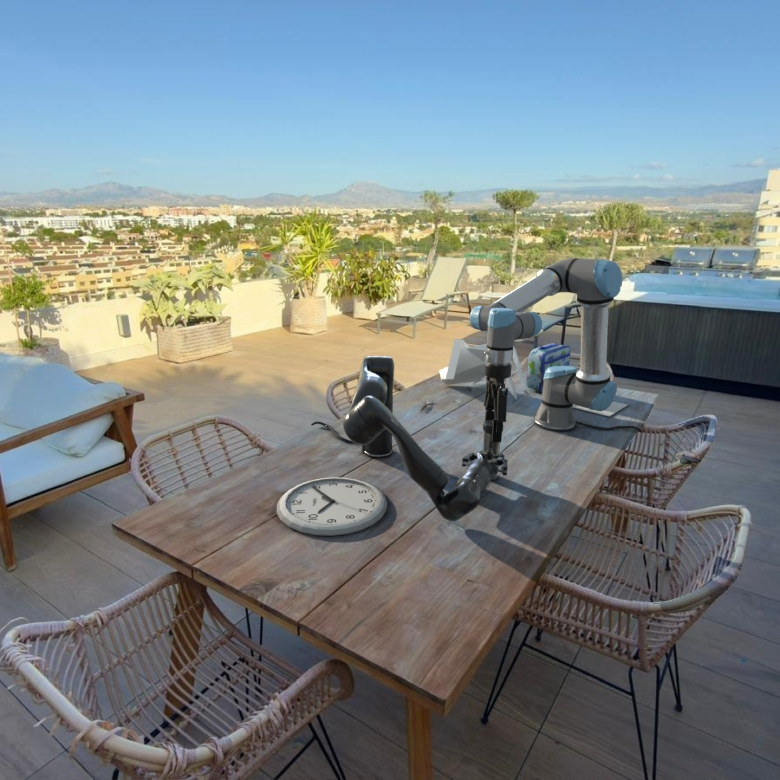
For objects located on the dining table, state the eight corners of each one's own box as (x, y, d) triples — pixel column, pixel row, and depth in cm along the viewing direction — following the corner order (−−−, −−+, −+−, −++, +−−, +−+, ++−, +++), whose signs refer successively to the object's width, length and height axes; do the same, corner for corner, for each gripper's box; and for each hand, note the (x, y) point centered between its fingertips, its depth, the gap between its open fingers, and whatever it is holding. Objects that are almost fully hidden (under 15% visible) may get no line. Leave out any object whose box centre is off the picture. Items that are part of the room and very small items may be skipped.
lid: (493, 435, 153) (493, 428, 152) (478, 429, 157) (479, 422, 156) (507, 431, 156) (507, 424, 155) (492, 425, 160) (493, 418, 160)
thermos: (478, 473, 163) (482, 422, 158) (493, 472, 164) (497, 421, 159) (484, 480, 158) (488, 428, 153) (499, 479, 159) (504, 427, 154)
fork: (417, 411, 216) (418, 406, 216) (428, 400, 231) (428, 395, 230) (423, 412, 215) (424, 407, 215) (434, 400, 230) (434, 396, 229)
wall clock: (392, 527, 129) (268, 531, 127) (391, 533, 130) (269, 537, 127) (383, 473, 158) (282, 475, 155) (383, 478, 158) (282, 480, 156)
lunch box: (542, 395, 240) (547, 351, 233) (522, 390, 247) (526, 347, 241) (569, 384, 257) (575, 343, 251) (550, 380, 264) (554, 339, 258)
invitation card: (608, 416, 214) (573, 407, 224) (608, 416, 214) (573, 408, 224) (628, 404, 229) (594, 396, 238) (628, 405, 229) (594, 397, 238)
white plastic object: (461, 429, 252) (437, 405, 227) (444, 352, 274) (420, 323, 250) (535, 404, 240) (518, 377, 215) (510, 326, 262) (492, 293, 237)
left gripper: (503, 469, 143) (517, 447, 157) (453, 459, 149) (471, 438, 163) (501, 494, 145) (515, 470, 160) (452, 483, 151) (469, 460, 166)
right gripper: (476, 354, 160) (472, 424, 166) (495, 372, 140) (489, 450, 147) (500, 354, 160) (495, 424, 167) (522, 372, 141) (515, 450, 148)
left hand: (492, 454), depth 161 cm, fingers closed on thermos, 5 cm apart
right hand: (492, 436), depth 157 cm, fingers open, 7 cm apart
